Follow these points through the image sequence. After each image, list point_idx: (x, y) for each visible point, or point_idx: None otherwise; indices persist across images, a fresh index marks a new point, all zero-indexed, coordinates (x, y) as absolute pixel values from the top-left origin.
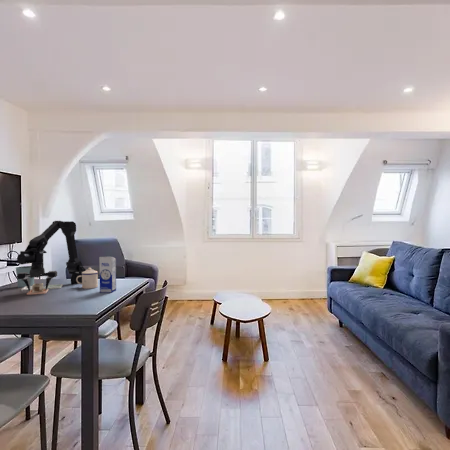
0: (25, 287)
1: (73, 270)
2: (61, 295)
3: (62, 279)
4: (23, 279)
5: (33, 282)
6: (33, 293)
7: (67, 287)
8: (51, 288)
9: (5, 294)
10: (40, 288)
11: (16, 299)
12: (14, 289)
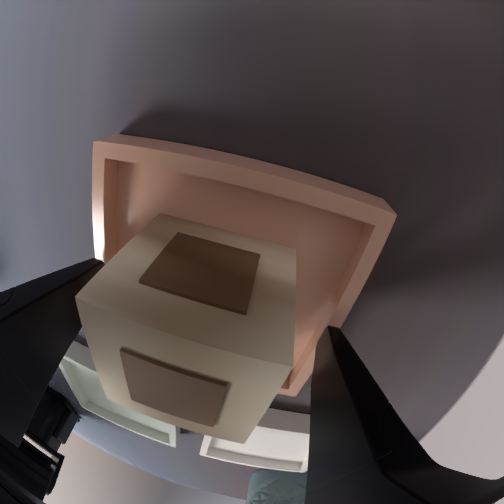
0: (306, 463)
1: (18, 447)
2: (11, 35)
3: (150, 471)
4: (497, 500)
5: (251, 489)
6: (284, 173)
7: None
8: None
9: (471, 378)
10: (138, 253)
11: (496, 43)
12: None
